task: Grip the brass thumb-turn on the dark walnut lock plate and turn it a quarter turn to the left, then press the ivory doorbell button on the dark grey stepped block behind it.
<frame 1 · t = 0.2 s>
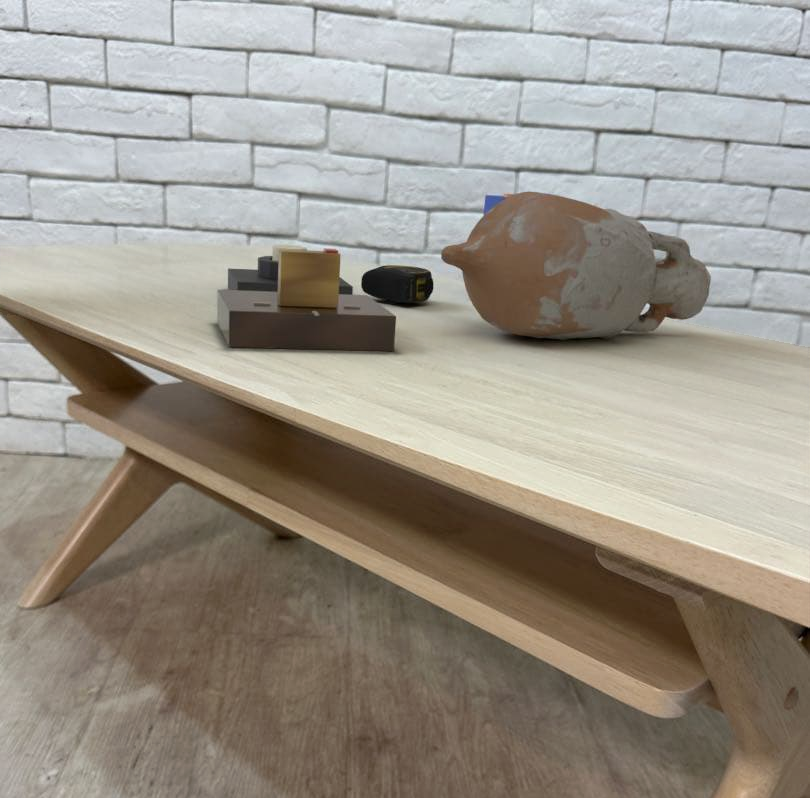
walkman: (503, 300, 120), on the table
lock plate: (302, 336, 88), on the table
tape measure: (398, 305, 110), on the table
lock turn: (308, 277, 84), point 5 cm above the table, hinge at 0.0°
amphora: (568, 339, 98), on the table
dark grey stepped block: (288, 297, 108), on the table
bell button: (289, 255, 106), point 4 cm above the table, slide at 0.1 cm
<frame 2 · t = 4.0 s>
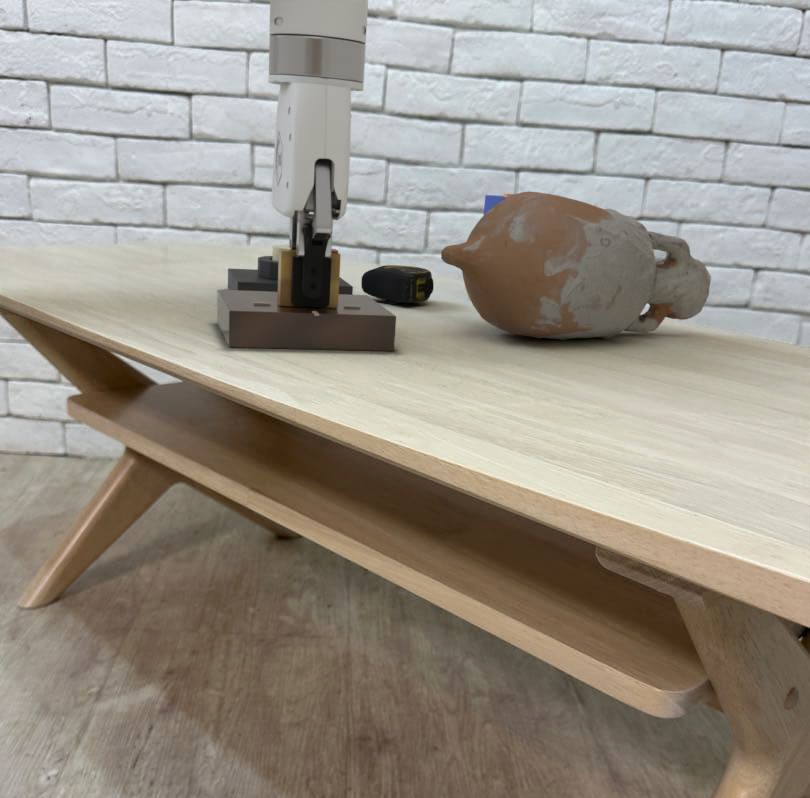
hand: (307, 302, 85), 3 cm above the table, tool pointing down, fingers closed on lock turn
lock turn: (308, 277, 84), point 5 cm above the table, hinge at 0.0°, touching gripper
everything else where it was.
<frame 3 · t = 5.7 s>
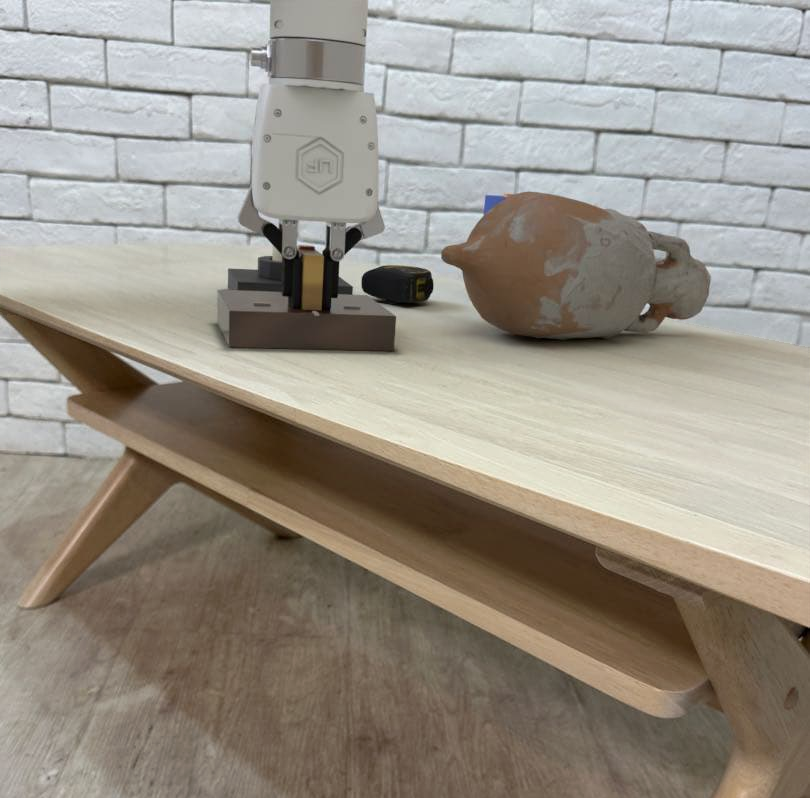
hand: (309, 304, 85), 3 cm above the table, tool pointing down, fingers closed, pressing on lock turn
lock turn: (308, 277, 84), point 5 cm above the table, hinge at 89.2°, touching gripper
everything else where it was.
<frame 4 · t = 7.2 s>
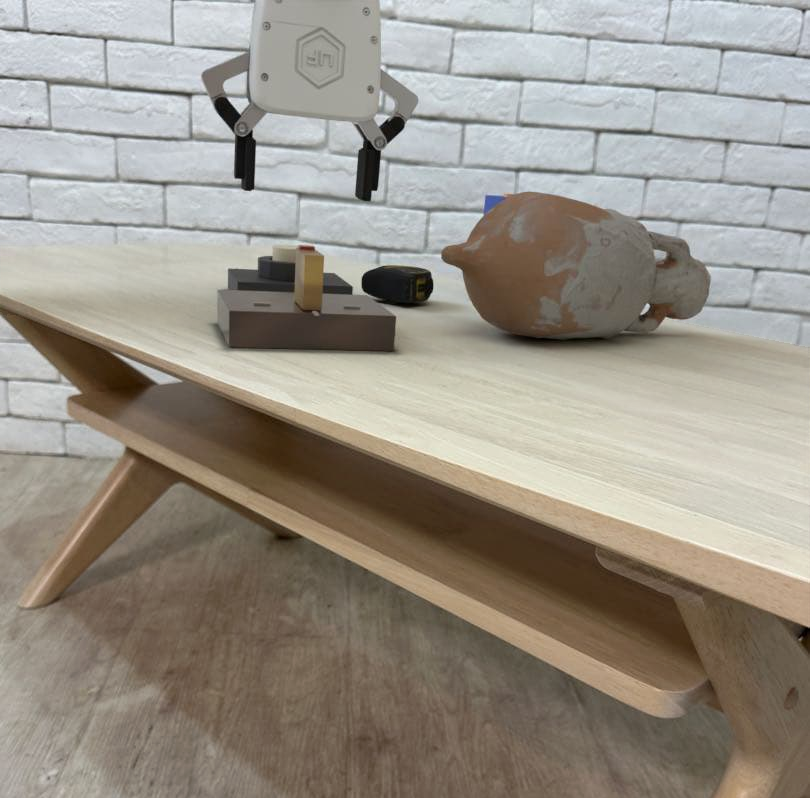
hand: (306, 194, 82), 12 cm above the table, tool pointing down, fingers open, 9 cm apart
lock turn: (308, 277, 84), point 5 cm above the table, hinge at 89.4°
everything else where it was.
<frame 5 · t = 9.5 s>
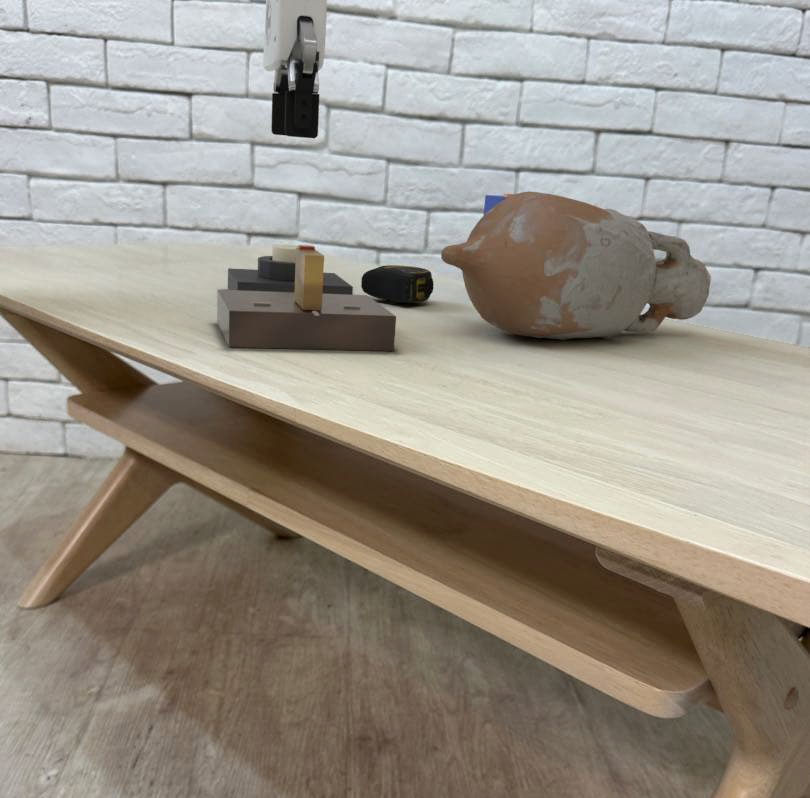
hand: (293, 136, 102), 16 cm above the table, tool pointing down, fingers open, 9 cm apart
nothing on the table moved.
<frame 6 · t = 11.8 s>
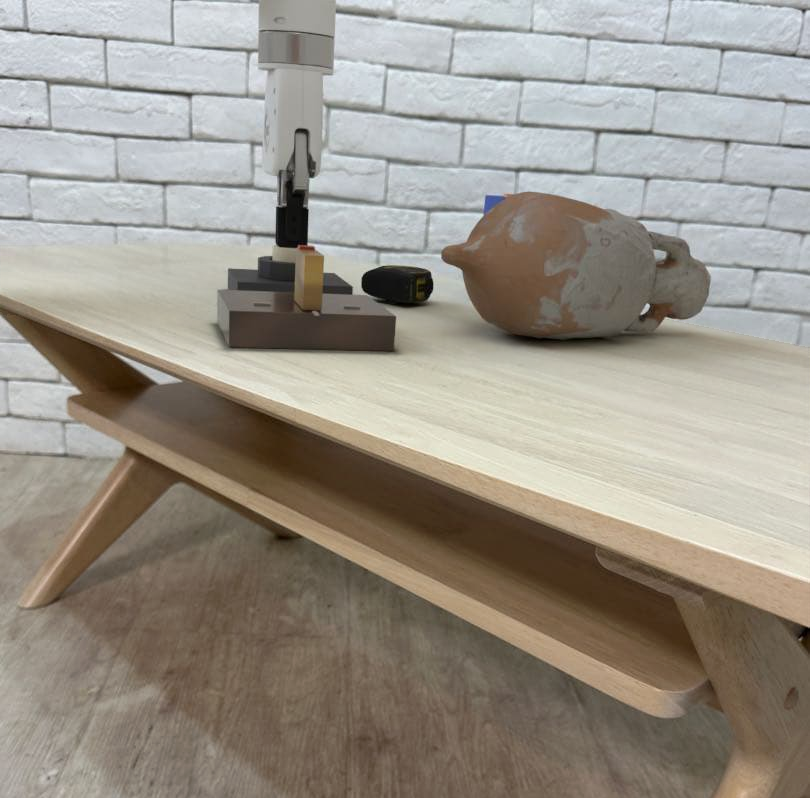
hand: (291, 246, 106), 5 cm above the table, tool pointing down, fingers closed
bell button: (289, 255, 106), point 4 cm above the table, slide at 0.1 cm, touching gripper
everything else where it was.
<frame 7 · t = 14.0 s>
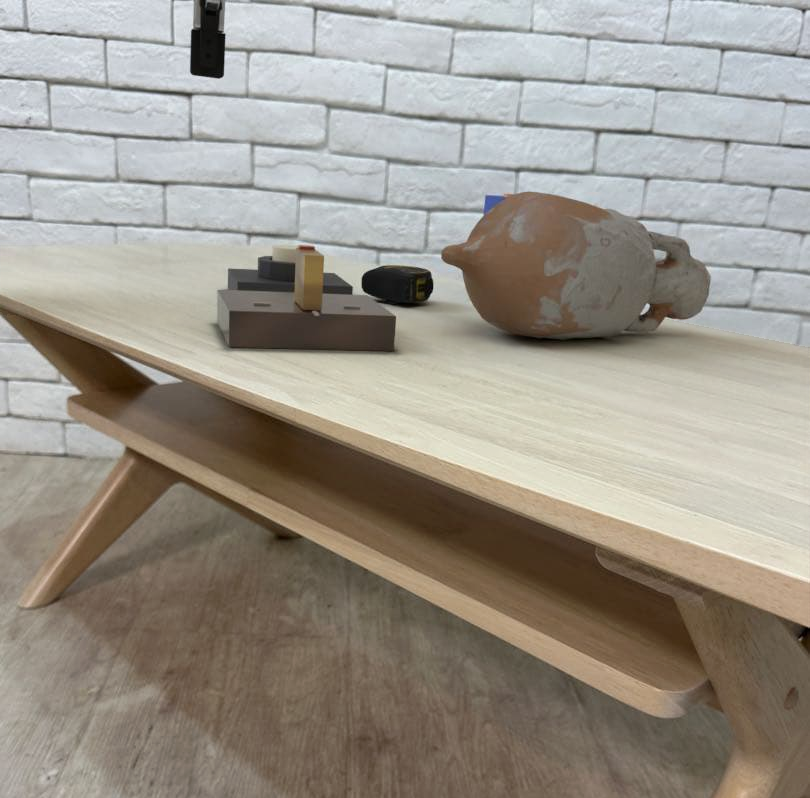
hand: (206, 76, 99), 21 cm above the table, tool pointing down, fingers closed
bell button: (289, 255, 106), point 4 cm above the table, slide at 0.1 cm
everything else where it was.
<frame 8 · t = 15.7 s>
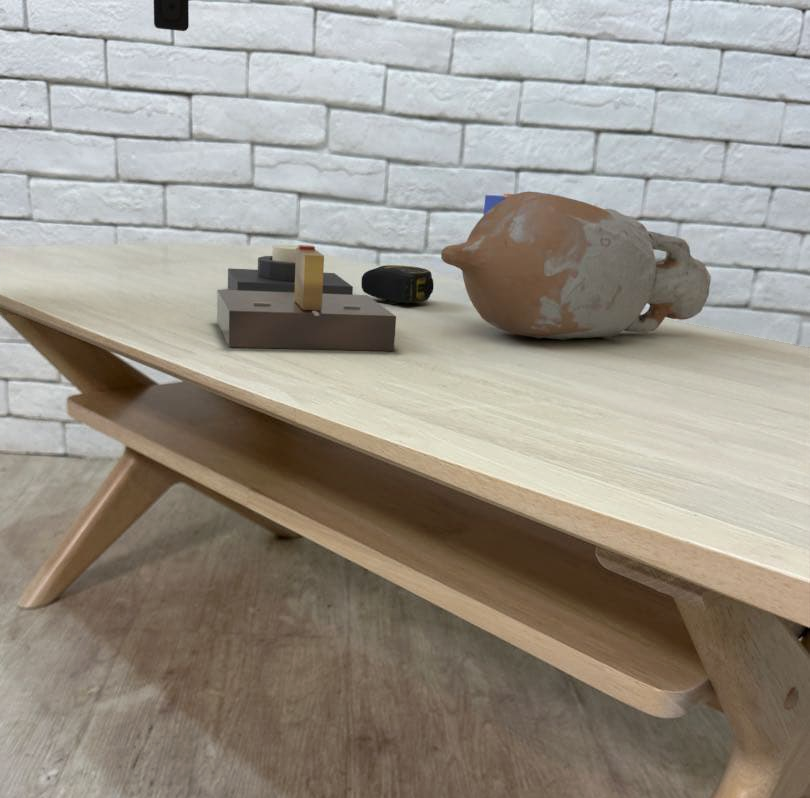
hand: (171, 28, 97), 25 cm above the table, tool pointing down, fingers closed
nothing on the table moved.
at the end: lock turn at +89° (first picture: +0°); bell button pushed in 1.1 cm at the most during the clip, back to where it started at the end; bell button slide at 0.1 cm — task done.
